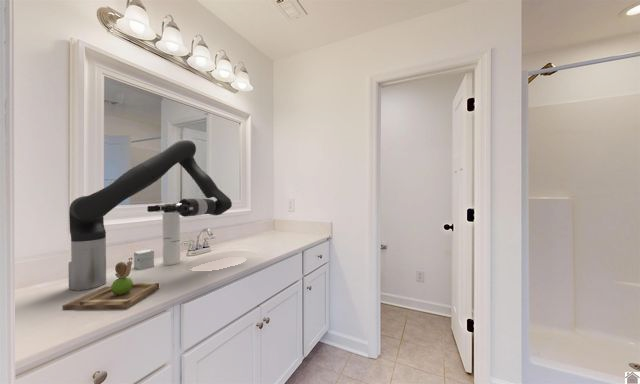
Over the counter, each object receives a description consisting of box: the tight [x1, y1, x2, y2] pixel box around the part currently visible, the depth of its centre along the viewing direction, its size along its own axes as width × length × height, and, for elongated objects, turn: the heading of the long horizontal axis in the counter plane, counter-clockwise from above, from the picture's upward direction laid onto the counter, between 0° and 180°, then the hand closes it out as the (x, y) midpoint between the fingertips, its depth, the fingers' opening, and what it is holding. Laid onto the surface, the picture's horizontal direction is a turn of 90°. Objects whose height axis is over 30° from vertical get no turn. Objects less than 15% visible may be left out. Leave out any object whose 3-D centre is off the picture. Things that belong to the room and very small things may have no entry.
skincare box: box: [133, 248, 155, 270], centre depth 109 cm, size 6×6×7 cm
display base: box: [62, 282, 160, 310], centre depth 77 cm, size 19×14×2 cm
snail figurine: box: [111, 257, 134, 295], centre depth 77 cm, size 5×6×12 cm
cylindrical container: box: [162, 211, 181, 266], centre depth 116 cm, size 7×7×25 cm
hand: (156, 209), depth 87 cm, fingers open, 8 cm apart
